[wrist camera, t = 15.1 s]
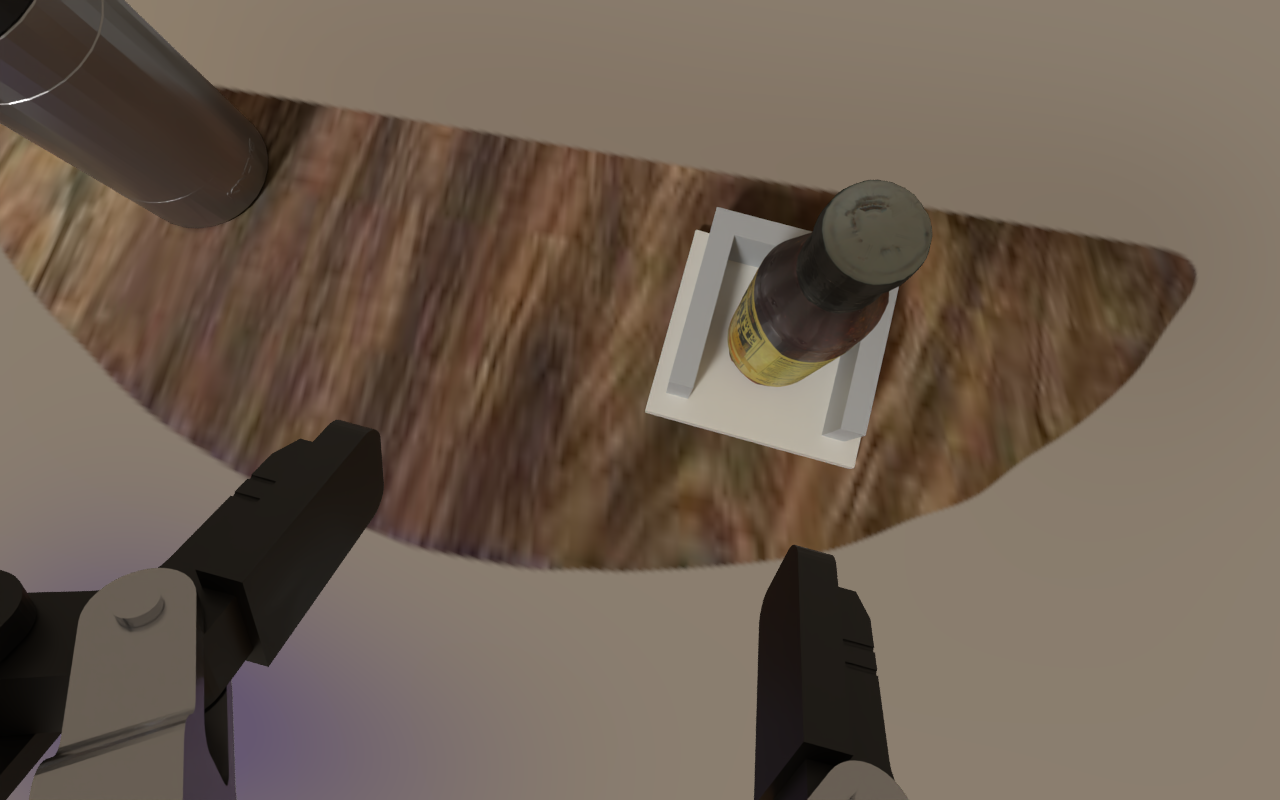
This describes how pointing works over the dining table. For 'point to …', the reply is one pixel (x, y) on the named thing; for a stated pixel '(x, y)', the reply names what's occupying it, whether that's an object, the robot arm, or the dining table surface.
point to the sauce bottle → (828, 283)
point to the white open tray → (721, 395)
